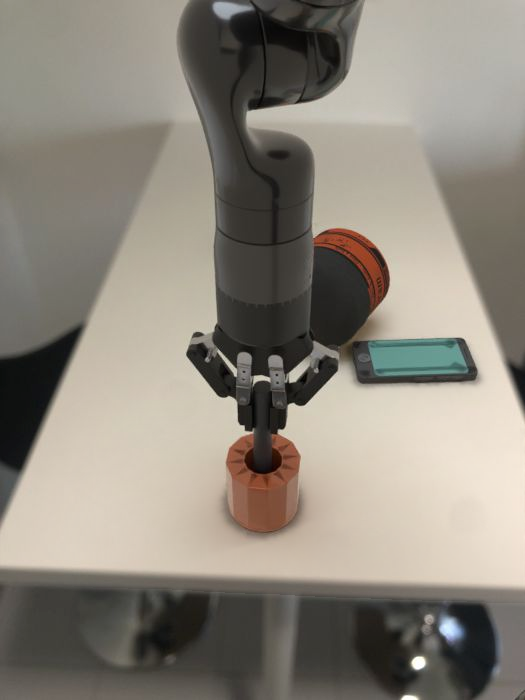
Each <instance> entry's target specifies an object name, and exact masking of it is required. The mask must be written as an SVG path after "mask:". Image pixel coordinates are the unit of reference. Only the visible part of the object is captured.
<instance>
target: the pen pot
mask: <svg viewBox="0 0 525 700" xmlns="http://www.w3.org/2000/svg"><path fill="white" fill-rule="evenodd" d="M301 456H302V455H301V454H300V452H299V450H298V449H297V447H296V445H295V444H294V442H293V441H291V440H290V439H288V438H286V437H284V436H282V435H281V434H279V433H278V435H275V434H272V473H269V474H257V473H254V457H253V433H249V434H245V435H243V436H240V437H239V438H238V439H237V440H236V441H235V442H234V443H233V444H231V446H229V447H228V451H227V455H226V460H225V478H226V496H227V505H228V509H229V513H230V515H231V517H232V518H233V519H234V521H235V522H236V523H237V524H239V526H241V527H243V528H244V529H247V530H249V531H252V532H257V533H269V532H275V531H277V530H280V529H282V528H284V527H285V526H287V525H288V524H289V523H291V521H292V520H293V519H294V518H295V516H296V514H297V512H298V507H299V506H298V505H299V504H298V503H299V496H300V495H299V494H300V480H301V479H300V478H301V461H302V460H301V459H302V457H301Z"/></svg>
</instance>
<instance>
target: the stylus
mask: <svg viewBox="0 0 525 700" xmlns="http://www.w3.org/2000/svg"><path fill="white" fill-rule="evenodd" d="M272 400H273V396H272V391H271V384H270V381H268V380H257V381H256V382H254V383H253V431H252V434H253V457H254V473H257V474H269V473H272V434H270V408H271V402H272Z"/></svg>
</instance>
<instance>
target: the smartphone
mask: <svg viewBox="0 0 525 700" xmlns="http://www.w3.org/2000/svg"><path fill="white" fill-rule="evenodd" d="M351 353H352V358H353V362H354V367H355V368H354V369H355V372H356V375H357V376H356V377H357V381H358V382H359V383H361V384H385V383H387V384H388V383H389V384H390V383H413V382H417V383H419V382H442V381H445V382H446V381H447V382H448V381H471V380H476V379H477V376H478V374H479V373H478V372H479V369H478V368H477V365H476V362H475V360H474V358H473V356H472V353H471V350H470V348H469V346H468V344H467V341H466V340H465V338H463V337H433V338H432V337H431V338H404V339H403V338H402V339H401V338H400V339H372V340H371V339H370V340H354V341H352V343H351Z"/></svg>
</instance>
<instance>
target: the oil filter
mask: <svg viewBox="0 0 525 700" xmlns="http://www.w3.org/2000/svg"><path fill="white" fill-rule="evenodd" d="M313 242H314V269H313V275H312V290H311V307H310V328H311V330H312V331H313V333H314V336H315V341H316V342H318V343H320V344H321V345H323V346H325V347H327V346H328V345H336V346H338V347H339V348H340V347H342V346H344V345H345V344H348V343H349V342H350V341H351V340H352V339H353V337H354V336H356V334H357V333H358V332H359V331H360V330H361V329H362V327H363V326H364V325H365V324H366V322H367V321H368V318H369V317H370V316H371V315H372V314H373V313H374V311H375V310H377V308H378V307H379V306H380V304H382V303H383V301H384V300H385V298H386V297H387V295H388V293H389V290H390V286H391V276H390V269H389V266H388V263H387V261H386V258H385V257H384V255H383V254H382V252H381V251H380V250H379V248H378V246H377V245H375V244H374V243H373V242H372V241H371V240H370V239H369V238H368V237H366V236H364V235H363V234H361V233H359V232H358V231H355V230H352V229H348V228H343V227H333V228H329V229H325V230H323V231H322V232H320V233H318V234H317V235H316V236H315V237H313Z"/></svg>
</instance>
